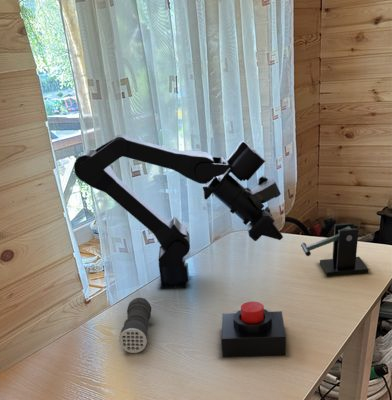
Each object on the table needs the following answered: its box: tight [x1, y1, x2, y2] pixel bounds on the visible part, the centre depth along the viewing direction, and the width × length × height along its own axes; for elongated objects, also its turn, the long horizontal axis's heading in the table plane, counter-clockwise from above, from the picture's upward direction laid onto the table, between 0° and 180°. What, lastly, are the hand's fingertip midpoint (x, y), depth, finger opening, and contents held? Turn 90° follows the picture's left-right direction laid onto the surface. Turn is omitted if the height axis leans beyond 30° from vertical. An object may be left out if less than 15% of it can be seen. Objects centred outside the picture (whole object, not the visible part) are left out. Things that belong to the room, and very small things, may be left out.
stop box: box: [220, 308, 287, 358], centre depth 101 cm, size 12×10×6 cm
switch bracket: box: [319, 222, 369, 278], centre depth 126 cm, size 10×8×11 cm
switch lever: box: [300, 226, 351, 257], centre depth 124 cm, size 12×6×2 cm, turn 90°
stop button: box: [240, 301, 265, 323], centre depth 99 cm, size 4×4×2 cm
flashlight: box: [118, 297, 152, 354], centre depth 108 cm, size 15×5×5 cm, turn 0°
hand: (281, 238), depth 124 cm, fingers closed
